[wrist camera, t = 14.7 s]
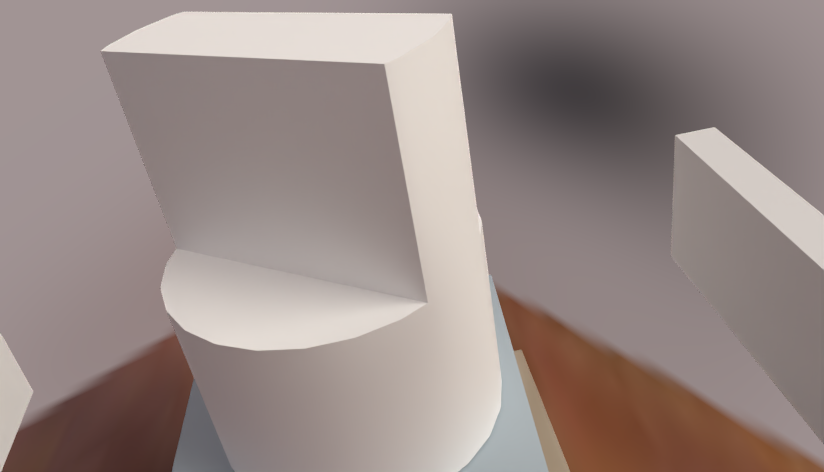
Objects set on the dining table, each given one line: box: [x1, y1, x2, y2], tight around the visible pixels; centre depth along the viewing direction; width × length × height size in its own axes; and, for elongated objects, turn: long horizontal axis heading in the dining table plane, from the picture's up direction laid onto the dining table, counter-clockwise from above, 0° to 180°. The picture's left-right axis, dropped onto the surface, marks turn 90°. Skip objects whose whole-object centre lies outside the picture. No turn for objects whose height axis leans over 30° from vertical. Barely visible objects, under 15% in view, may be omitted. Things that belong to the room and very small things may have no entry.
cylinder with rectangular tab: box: [101, 12, 502, 472], centre depth 21 cm, size 9×9×12 cm
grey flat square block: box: [172, 275, 549, 472], centre depth 26 cm, size 11×11×5 cm
